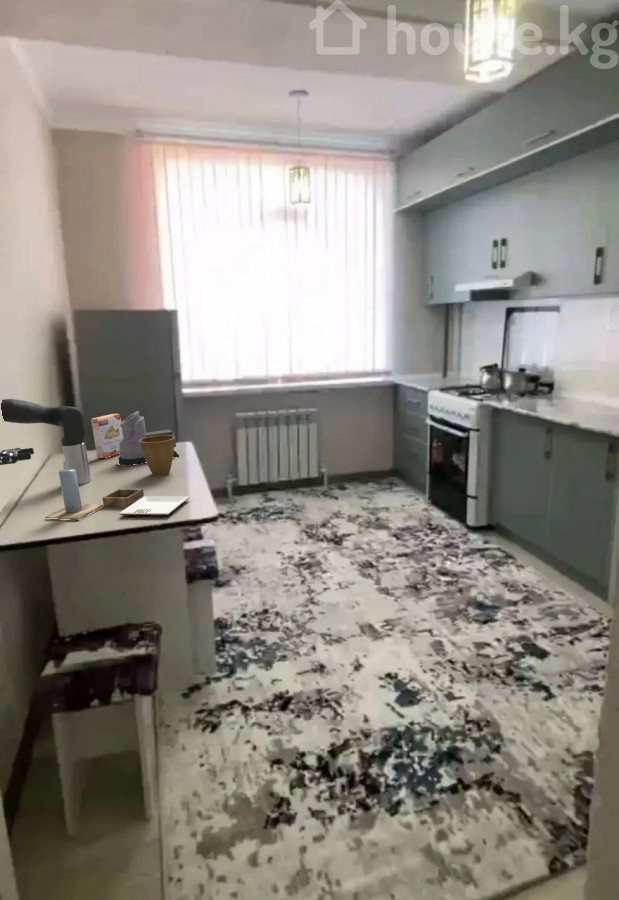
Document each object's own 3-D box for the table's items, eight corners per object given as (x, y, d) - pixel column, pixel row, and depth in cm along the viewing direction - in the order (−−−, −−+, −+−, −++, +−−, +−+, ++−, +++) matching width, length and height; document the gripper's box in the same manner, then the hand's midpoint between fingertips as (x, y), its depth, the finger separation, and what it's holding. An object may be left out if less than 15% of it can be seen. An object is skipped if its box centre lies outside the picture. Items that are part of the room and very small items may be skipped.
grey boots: (117, 468, 269) (109, 417, 263) (115, 461, 283) (107, 412, 277) (181, 458, 279) (175, 408, 273) (176, 451, 294) (170, 404, 288)
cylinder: (62, 511, 206) (55, 471, 203) (76, 507, 211) (70, 467, 207) (70, 513, 203) (63, 473, 200) (85, 509, 207) (78, 469, 204)
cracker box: (104, 459, 287) (97, 418, 282) (96, 458, 291) (90, 418, 286) (126, 452, 299) (120, 413, 294) (118, 452, 302) (112, 413, 297)
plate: (190, 501, 212) (189, 495, 212) (168, 519, 194) (167, 513, 194) (144, 501, 216) (143, 495, 216) (119, 518, 198) (118, 513, 198)
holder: (103, 506, 212) (102, 497, 211) (120, 497, 222) (119, 488, 221) (128, 507, 209) (127, 498, 208) (144, 498, 219) (143, 489, 218)
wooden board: (45, 519, 202) (44, 517, 202) (71, 506, 215) (71, 503, 215) (78, 521, 198) (78, 518, 198) (103, 507, 211) (102, 504, 211)
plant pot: (149, 480, 243) (144, 444, 239) (140, 473, 255) (135, 438, 252) (183, 473, 250) (178, 438, 246) (173, 467, 263) (168, 433, 259)
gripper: (-14, 466, 201) (36, 459, 206) (-22, 476, 188) (31, 468, 193) (-18, 445, 199) (32, 439, 204) (-27, 453, 186) (27, 446, 191)
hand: (32, 453), depth 198 cm, fingers open, 8 cm apart
